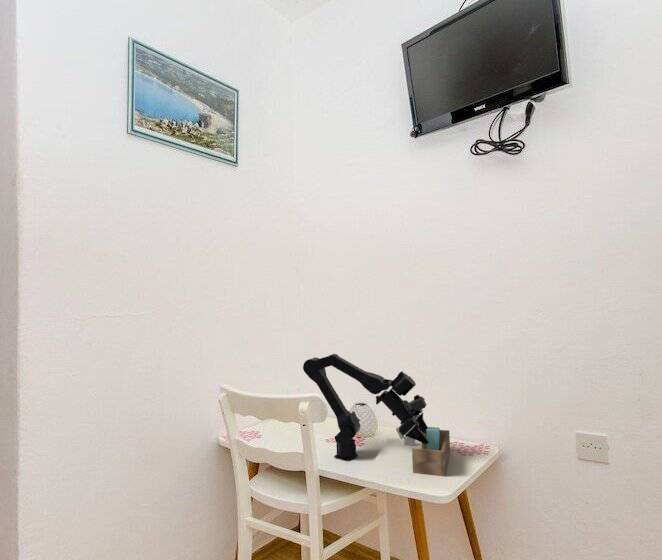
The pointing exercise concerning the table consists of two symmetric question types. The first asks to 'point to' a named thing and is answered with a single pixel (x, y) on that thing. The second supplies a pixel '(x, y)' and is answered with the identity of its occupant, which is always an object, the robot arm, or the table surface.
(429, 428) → the pillar block
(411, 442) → the lighter
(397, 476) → the table surface
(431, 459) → the open box
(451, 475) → the table surface
